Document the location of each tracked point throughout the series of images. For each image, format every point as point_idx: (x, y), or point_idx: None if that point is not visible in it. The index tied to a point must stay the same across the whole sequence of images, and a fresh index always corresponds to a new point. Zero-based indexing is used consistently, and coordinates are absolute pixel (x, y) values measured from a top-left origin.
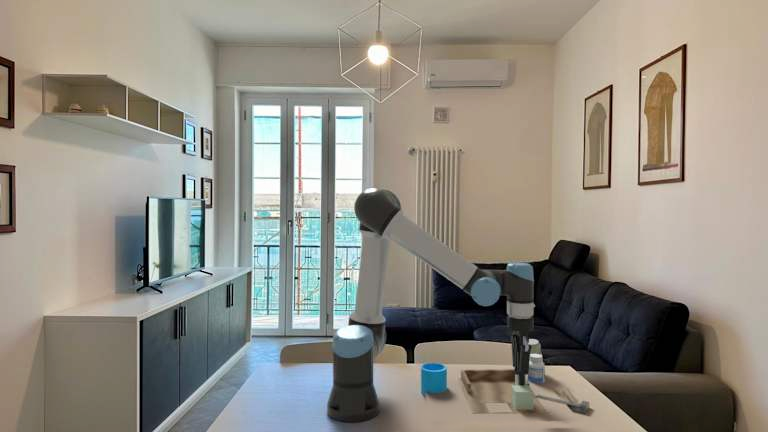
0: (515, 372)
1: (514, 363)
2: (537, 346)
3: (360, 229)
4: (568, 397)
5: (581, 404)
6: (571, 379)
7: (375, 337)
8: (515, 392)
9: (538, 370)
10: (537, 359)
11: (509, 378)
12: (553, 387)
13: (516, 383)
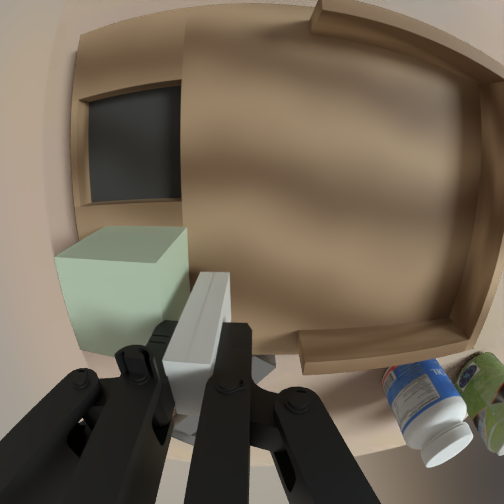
0: (134, 360)
1: (282, 428)
2: (492, 448)
3: None
4: None
5: (190, 437)
6: (397, 438)
7: None
8: (56, 255)
9: (404, 423)
10: (426, 453)
11: (458, 295)
12: (369, 407)
13: (187, 310)
